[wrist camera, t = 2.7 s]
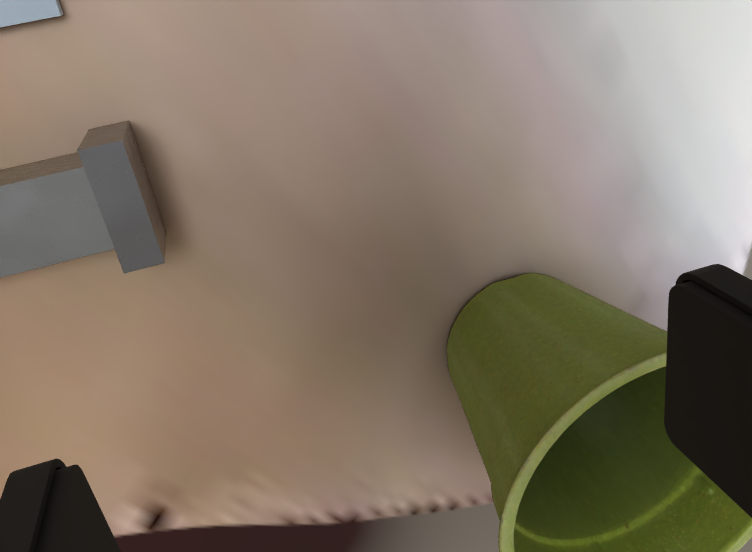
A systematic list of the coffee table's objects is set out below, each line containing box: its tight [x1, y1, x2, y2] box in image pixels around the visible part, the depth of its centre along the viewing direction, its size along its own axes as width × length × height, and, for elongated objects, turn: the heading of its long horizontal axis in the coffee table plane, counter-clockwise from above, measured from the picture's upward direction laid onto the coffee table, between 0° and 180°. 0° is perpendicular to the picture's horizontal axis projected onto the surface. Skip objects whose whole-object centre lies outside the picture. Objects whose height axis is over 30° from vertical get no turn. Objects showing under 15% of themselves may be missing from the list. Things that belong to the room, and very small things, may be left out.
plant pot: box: [447, 273, 752, 552], centre depth 28 cm, size 12×12×11 cm
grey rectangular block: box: [0, 121, 166, 278], centre depth 23 cm, size 7×4×3 cm, turn 100°
